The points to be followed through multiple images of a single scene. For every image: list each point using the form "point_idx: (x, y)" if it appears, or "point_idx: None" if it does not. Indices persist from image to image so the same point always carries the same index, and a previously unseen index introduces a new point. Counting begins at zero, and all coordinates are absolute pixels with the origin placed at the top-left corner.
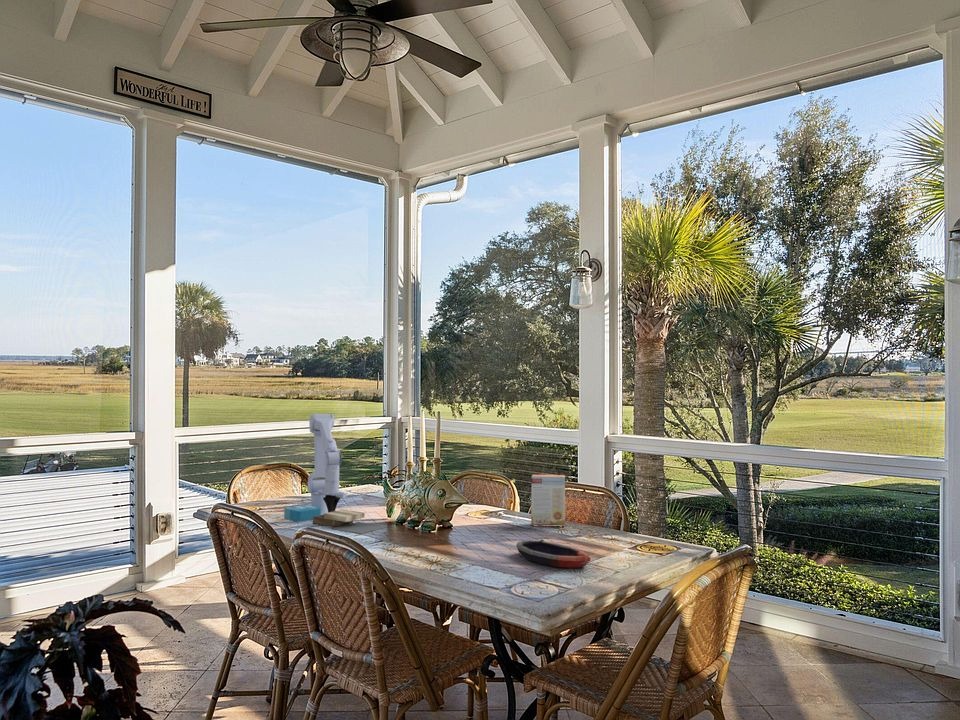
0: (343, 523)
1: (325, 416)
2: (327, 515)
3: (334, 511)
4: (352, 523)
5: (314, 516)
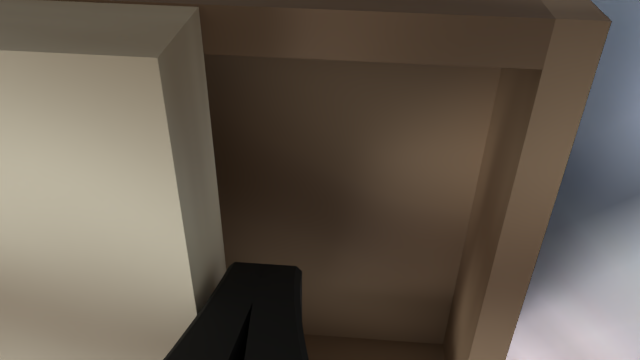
0: None
1: None
2: (21, 31)
3: None
4: None
5: (580, 67)
